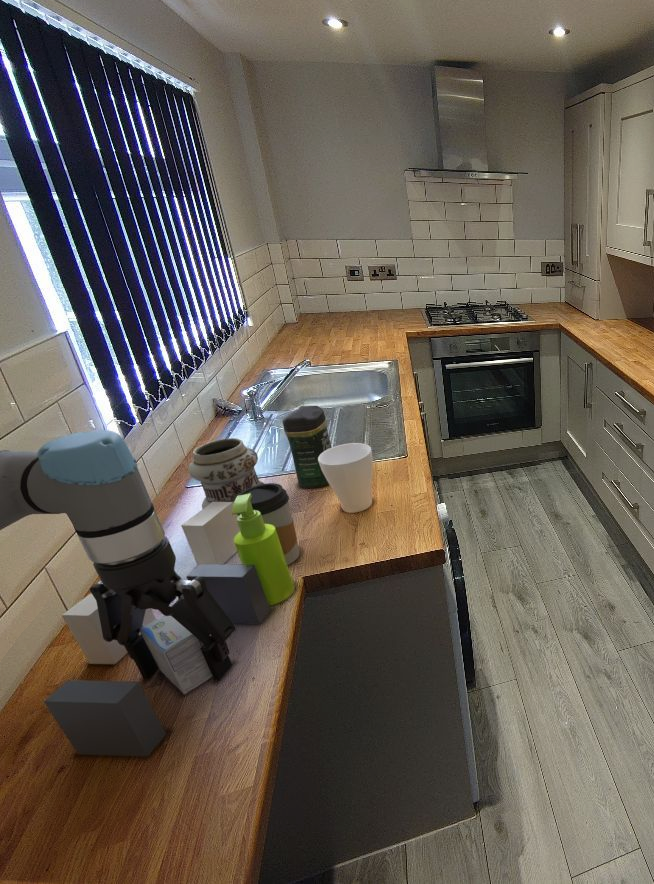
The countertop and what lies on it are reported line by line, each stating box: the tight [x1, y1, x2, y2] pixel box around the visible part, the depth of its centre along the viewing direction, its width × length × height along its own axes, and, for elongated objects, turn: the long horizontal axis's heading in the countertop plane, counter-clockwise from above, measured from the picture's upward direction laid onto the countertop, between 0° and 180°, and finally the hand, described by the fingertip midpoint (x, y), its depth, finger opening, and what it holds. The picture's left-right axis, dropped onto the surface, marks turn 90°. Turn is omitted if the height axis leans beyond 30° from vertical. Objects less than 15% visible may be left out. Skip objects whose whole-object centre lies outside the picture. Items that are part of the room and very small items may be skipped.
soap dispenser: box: [232, 493, 295, 606], centre depth 87 cm, size 6×7×20 cm
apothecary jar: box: [187, 437, 266, 516], centre depth 109 cm, size 12×12×18 cm
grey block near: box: [43, 679, 167, 757], centre depth 64 cm, size 9×3×10 cm, turn 88°
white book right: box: [180, 502, 240, 567], centre depth 99 cm, size 4×8×10 cm, turn 178°
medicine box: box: [140, 615, 213, 695], centre depth 75 cm, size 8×4×9 cm, turn 58°
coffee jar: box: [282, 405, 333, 489], centre depth 125 cm, size 10×8×19 cm
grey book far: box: [186, 564, 272, 625], centre depth 84 cm, size 9×3×10 cm, turn 88°
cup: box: [318, 442, 374, 514], centre depth 114 cm, size 10×10×14 cm
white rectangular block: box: [61, 592, 157, 665], centre depth 79 cm, size 4×8×10 cm, turn 178°
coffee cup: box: [238, 482, 301, 566], centre depth 97 cm, size 8×8×15 cm
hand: (189, 673), depth 76 cm, fingers open, 10 cm apart
